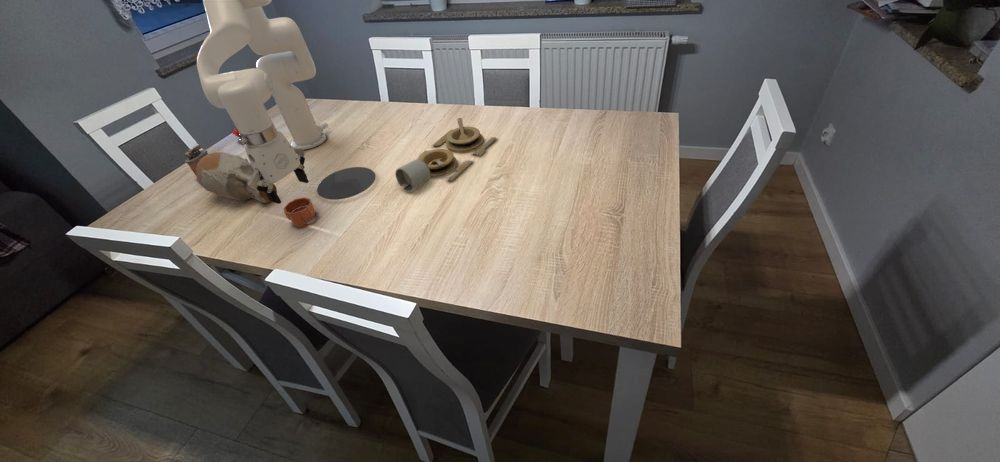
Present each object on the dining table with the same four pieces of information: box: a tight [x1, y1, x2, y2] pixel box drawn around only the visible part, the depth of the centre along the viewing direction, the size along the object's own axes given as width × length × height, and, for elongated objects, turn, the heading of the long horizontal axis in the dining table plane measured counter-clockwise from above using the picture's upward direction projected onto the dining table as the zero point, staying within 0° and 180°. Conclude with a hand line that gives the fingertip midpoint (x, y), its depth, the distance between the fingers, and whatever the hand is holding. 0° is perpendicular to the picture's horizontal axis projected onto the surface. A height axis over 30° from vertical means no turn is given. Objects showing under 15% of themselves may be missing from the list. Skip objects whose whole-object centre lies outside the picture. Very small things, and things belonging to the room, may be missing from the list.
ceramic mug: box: [394, 158, 431, 193], centre depth 120 cm, size 11×8×8 cm
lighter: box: [184, 144, 209, 176], centre depth 136 cm, size 8×3×10 cm, turn 168°
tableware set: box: [417, 117, 497, 183], centre depth 132 cm, size 30×20×6 cm, turn 151°
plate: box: [316, 166, 377, 201], centre depth 124 cm, size 18×18×1 cm
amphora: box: [195, 151, 278, 204], centre depth 122 cm, size 14×16×30 cm
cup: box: [283, 197, 316, 228], centre depth 111 cm, size 7×8×5 cm
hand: (290, 191), depth 107 cm, fingers open, 9 cm apart
